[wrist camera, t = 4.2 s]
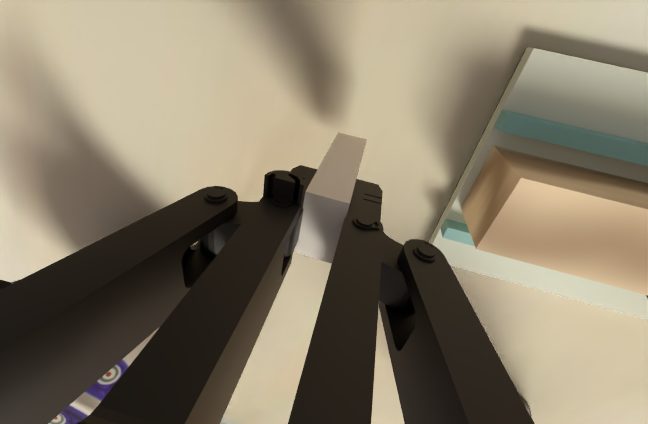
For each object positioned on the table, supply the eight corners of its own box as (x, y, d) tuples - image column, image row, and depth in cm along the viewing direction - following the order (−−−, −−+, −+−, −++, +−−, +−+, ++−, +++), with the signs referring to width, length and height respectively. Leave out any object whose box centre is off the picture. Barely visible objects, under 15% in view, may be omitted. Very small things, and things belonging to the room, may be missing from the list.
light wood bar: (493, 145, 15) (521, 177, 12) (734, 204, 14) (836, 256, 11) (460, 207, 17) (475, 249, 14) (667, 261, 17) (735, 319, 13)
